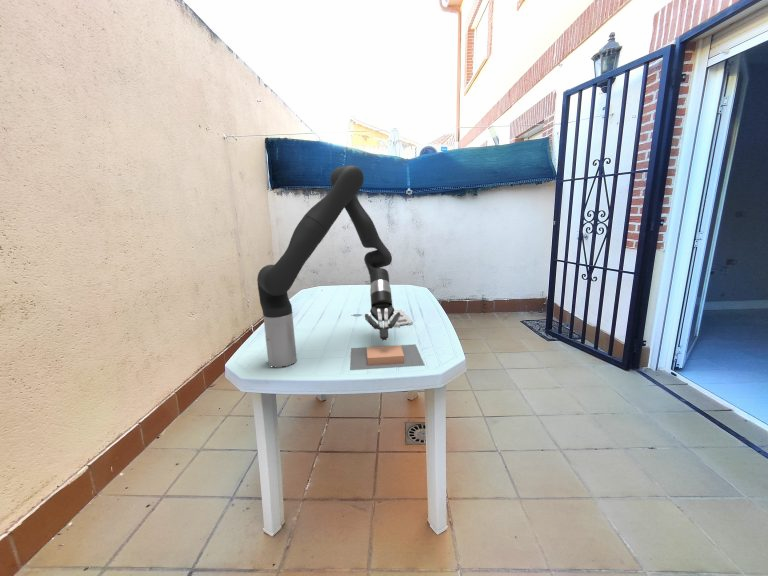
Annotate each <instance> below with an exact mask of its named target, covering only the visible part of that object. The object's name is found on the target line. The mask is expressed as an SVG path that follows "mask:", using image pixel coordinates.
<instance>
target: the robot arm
mask: <svg viewBox="0 0 768 576" xmlns="http://www.w3.org/2000/svg"><path fill="white" fill-rule="evenodd" d="M364 179H365V177H364V173H363V171H362V169H361V168H360V167H358V166H357V165H344V166H341V167H336V168H335V169H334V170H332V172H331V174H330V181H329V182H330V185H331V189H330V190H329V191H328V193H327V194H326V195H325V196H324V197H323V198H321V199H320V200H319V201H318V202H317V203H315V204H314V205H312V207H311V208H310V209H308V210H307V212H306V213H305V214H304V215H303V217H302V218H301V220H300V221H299V222H298V224H297V225H296V227H295V228H294V230H293V232H292V235H291V238H290V240H289V243H288V246H287V248H286V249H285V251H284V253H283V254H282V256H281V257H280V258H279V259H278V260H277V262H276V263H275V264H268V265H267V264H266V265H264V266H263V267H262V268H261V269H260V270H259V272H258V273H257V274H258V275H257V289H258V295H259V296H258V297H259V303H260V306H261V310H262V315H263V323H264V324H263V325H264V333H265V335H264V336H265V343H266V344H265V346H266V355H267V362H268V367H269V368H270V367H271V366H276V367H275V368H283V367H282V366H286V367H289V366H292V365H294V364H295V363H297V361H298V359H297V358H298V357H297V348H296V347H297V346H296V338H295V328H294V327H295V326H294V325H295V324H294V318H293V317H294V316H293V306H292V303H291V301H290V298H289V294H288V292H289V290H290V289H291V287H292V286H293V284H294V282H295V281H296V279H297V277H298V275H299V274H300V272H301V270H302V268H303V267H304V265H305V264H306V262H307V261H308V259H309V258H310V257H311V256H312V254H313V253H314V251H315V250H317V249H316V248H317V247H318V246H319V245H320V243H321V242H322V241H323V240H324V238H325V237H326V235H327V233H329V231H330V230H331V227H332V226H333V225H334V223H335V222H336V221H337V219H338V218H339V216H340V215H341V213H342V212H343V210H344V209H345V211H346V213H347V215H348V216H349V218H350V220H351V222H352V224H353V226H354V229H355V231H356V233H357V236H358V238H359V240H360V243H361V245H362V246H363V248H366V249H371V248H372V249H375V250H373V251H369V252H367V253H366V254H365V255H364V259H363V261H364V264H365V267H366V268H367V271H368V274H369V279H370V280H369V281H370V287H369V288H370V289H369V290H370V291H369V292H370V294H369V295H370V305H371V306H370V310H369V312H368V313H365V314H364V319H365V321H366V322H367V323H368V324H369V325H370V326H371V327H372V328H373V329H374V330H378V331H379V338H380V340H381V341H387V340H388V339H389V329H393V328H394V327H393V326H394V325H395V323H396V322H397V321H398V319H399V318H400V312H398V313H397V312H396V311H395V308H394V307H393V299H392V297H393V296H392V290H391V289H392V288H391V284H390V276H389V272H388V270H387V269H385V268H384V267H388V266H390V265H391V264H392V261H393V257H392V256H393V255H392V254H391V252H390V250H389V249H388V248H387V246H386V244H384V242H383V241H382V239H381V238H380V236H379V233H378V231H377V228H376V225H375V224H374V222H373V219H372V218H371V216H370V215H369V214H368V213H367V211H366V210H365V208H364V207H363V206H362V204H361V201H359V198H358V196H357V194H358V193H359V192H360V190H361V189H362V187H363V184H364ZM393 314H394V315H393ZM392 315H393V319H392V321H391V322H389V319H390V318H392ZM373 318H374V319H373ZM375 320H376V321H377V322H376V321H375ZM293 363H294V364H293ZM291 364H292V365H291ZM288 365H289V366H288ZM271 368H272V367H271Z"/></svg>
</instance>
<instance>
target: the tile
mask: <svg viewBox="0 0 768 576" xmlns="http://www.w3.org/2000/svg"><path fill="white" fill-rule="evenodd" d="M398 345H399V346H396V345H386V346H385V345H382V347H379V346H367V361H368V365H379V364H395V363H404V354H403V351H402V348H401V345H402V344H398Z"/></svg>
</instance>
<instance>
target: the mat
mask: <svg viewBox="0 0 768 576" xmlns="http://www.w3.org/2000/svg"><path fill="white" fill-rule="evenodd" d="M399 345H401V348H402V351H403V354H404V363H395V364H379V365H368V361H367V347H368V346H367V347H366V346H365V347H351V349H350V363H349V364H350V366H349V371H356V370H357V371H362V370H375V369H377V370H378V369H391V368H393V369H394V368H407V367H421V366H422V367H423V366H425V363H424V360H423V358H422V356H421V354H420V351H419V349H418V347H417V344H398V345H397V344H396V345H395V346H399ZM382 346H383V345H382ZM382 346H378V347H382Z"/></svg>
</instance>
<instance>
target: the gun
mask: <svg viewBox="0 0 768 576" xmlns="http://www.w3.org/2000/svg"><path fill="white" fill-rule="evenodd" d="M394 311H396V312H397V313H398V312H400V318H399V319H398V321H397V322H396V323H395V325H394V326H393V328H400V327H401V326H404V325H408V326H411V324H412V325H413V324H414V321H413V320H412V319H411V316H408V315H407V314H406V313H405V311H403V310H402V309H399V310H395V309H394ZM393 315H394V314H393ZM393 315H392V316H391V318H390V319H389V320H388V323H390V322H391V321H392V319H393Z"/></svg>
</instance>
